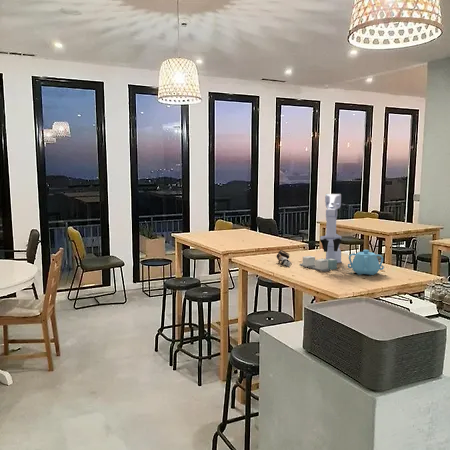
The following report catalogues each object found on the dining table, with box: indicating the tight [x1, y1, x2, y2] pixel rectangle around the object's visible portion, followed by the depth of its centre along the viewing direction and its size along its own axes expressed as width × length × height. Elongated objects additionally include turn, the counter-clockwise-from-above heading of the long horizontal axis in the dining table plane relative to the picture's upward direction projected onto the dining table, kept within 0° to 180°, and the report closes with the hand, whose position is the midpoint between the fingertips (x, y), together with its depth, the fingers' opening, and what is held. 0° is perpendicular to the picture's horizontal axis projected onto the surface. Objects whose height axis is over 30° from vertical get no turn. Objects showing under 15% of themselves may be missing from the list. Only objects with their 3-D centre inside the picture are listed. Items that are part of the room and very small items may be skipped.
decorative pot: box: [347, 249, 385, 276], centre depth 258 cm, size 16×16×14 cm
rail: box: [299, 262, 331, 273], centre depth 274 cm, size 5×22×1 cm, turn 30°
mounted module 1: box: [302, 255, 316, 266], centre depth 278 cm, size 6×4×5 cm
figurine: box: [275, 249, 292, 267], centre depth 286 cm, size 9×8×15 cm
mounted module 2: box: [315, 258, 328, 270], centre depth 268 cm, size 6×4×5 cm
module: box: [325, 258, 338, 271], centre depth 272 cm, size 4×5×6 cm
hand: (330, 251), depth 271 cm, fingers open, 7 cm apart
